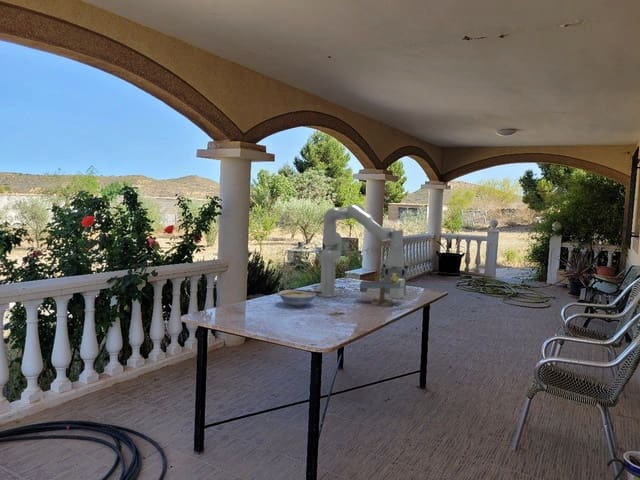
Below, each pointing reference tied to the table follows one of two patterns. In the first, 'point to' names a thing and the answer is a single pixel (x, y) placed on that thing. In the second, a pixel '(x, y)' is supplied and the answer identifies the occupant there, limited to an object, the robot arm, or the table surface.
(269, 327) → the table surface
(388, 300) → the pivot stand
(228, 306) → the table surface
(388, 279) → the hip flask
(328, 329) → the table surface
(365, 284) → the balance beam
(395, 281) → the brass weight
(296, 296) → the ramen bowl
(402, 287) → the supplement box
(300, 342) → the table surface
